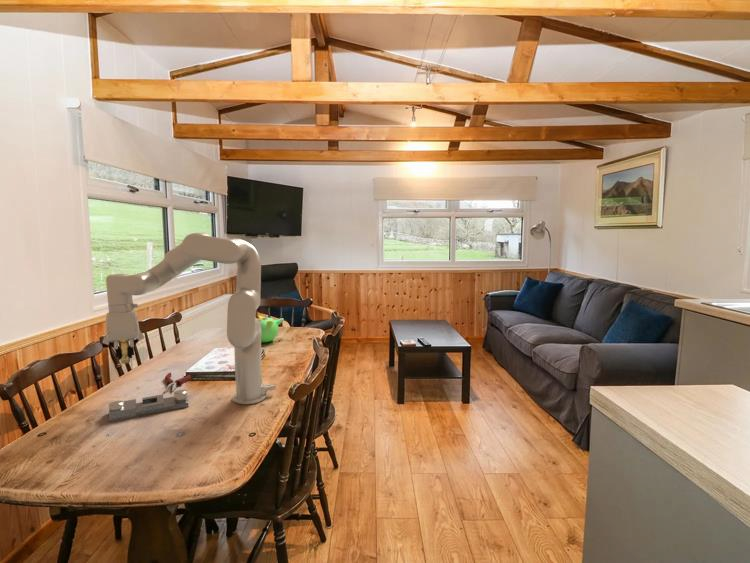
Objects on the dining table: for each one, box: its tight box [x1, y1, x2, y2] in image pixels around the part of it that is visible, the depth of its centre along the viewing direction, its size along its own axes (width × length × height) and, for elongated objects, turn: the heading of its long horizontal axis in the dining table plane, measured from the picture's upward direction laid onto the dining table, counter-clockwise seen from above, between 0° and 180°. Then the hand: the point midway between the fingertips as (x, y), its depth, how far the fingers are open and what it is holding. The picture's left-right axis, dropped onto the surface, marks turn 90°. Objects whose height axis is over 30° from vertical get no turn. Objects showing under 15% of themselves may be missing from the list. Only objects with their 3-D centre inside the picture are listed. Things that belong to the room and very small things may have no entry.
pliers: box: [163, 372, 192, 393], centre depth 171 cm, size 12×20×3 cm, turn 11°
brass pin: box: [118, 339, 131, 365], centre depth 151 cm, size 4×4×9 cm
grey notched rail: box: [108, 389, 190, 423], centre depth 147 cm, size 24×9×4 cm, turn 119°
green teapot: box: [256, 315, 285, 344], centre depth 233 cm, size 18×17×15 cm
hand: (125, 357), depth 151 cm, fingers closed on brass pin, 3 cm apart
